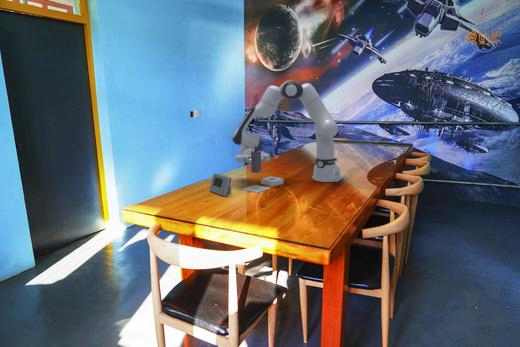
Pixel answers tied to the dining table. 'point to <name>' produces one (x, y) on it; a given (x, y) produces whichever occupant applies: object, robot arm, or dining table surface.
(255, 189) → the mat
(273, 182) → the socket block
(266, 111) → the robot arm
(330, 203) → the dining table surface
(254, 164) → the plug
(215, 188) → the digital clock
